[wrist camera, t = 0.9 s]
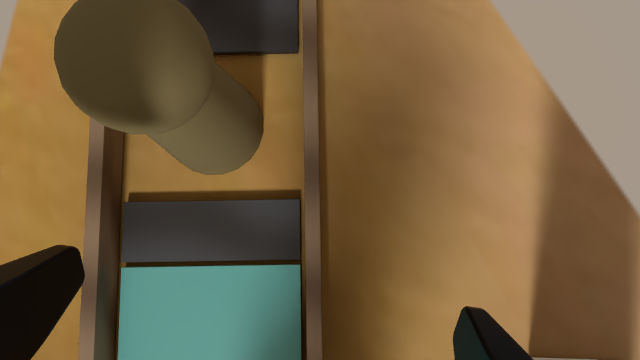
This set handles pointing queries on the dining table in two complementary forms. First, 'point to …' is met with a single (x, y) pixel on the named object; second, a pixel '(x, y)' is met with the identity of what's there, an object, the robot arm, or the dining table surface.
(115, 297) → the channel
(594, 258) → the dining table surface
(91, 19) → the cork
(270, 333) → the pad
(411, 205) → the dining table surface
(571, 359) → the syrup box
